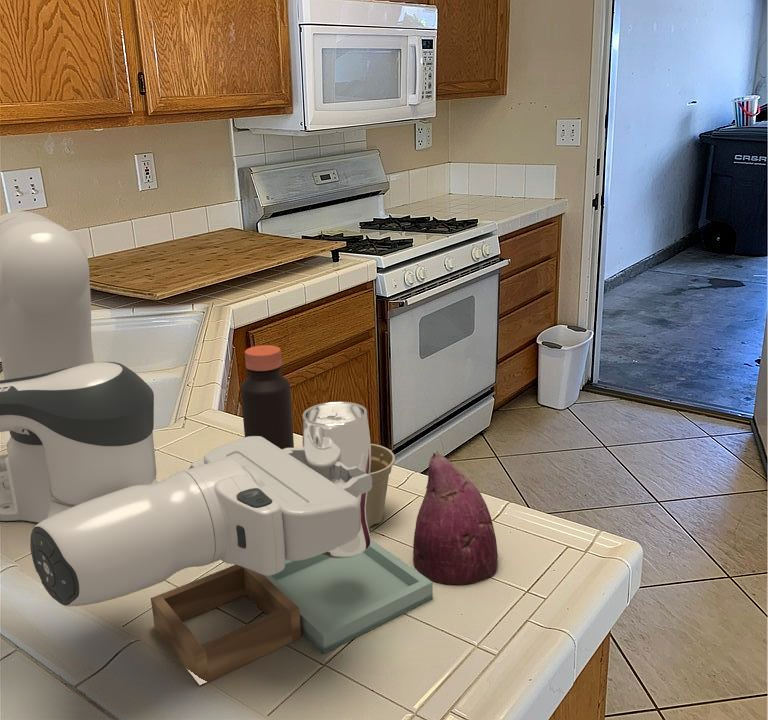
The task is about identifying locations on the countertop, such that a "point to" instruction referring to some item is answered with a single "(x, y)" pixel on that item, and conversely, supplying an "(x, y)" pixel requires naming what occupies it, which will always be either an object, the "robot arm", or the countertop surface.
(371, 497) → the flower pot
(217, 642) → the frame
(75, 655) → the countertop surface
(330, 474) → the beer glass
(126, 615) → the countertop surface
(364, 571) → the tray
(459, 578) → the vegetable
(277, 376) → the bottle
